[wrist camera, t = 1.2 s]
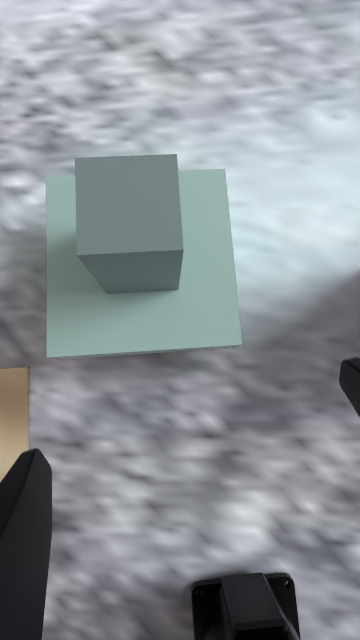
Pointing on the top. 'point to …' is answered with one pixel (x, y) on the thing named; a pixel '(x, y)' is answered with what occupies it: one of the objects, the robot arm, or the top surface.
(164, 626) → the top surface
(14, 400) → the cork mat
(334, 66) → the top surface
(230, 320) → the lid
